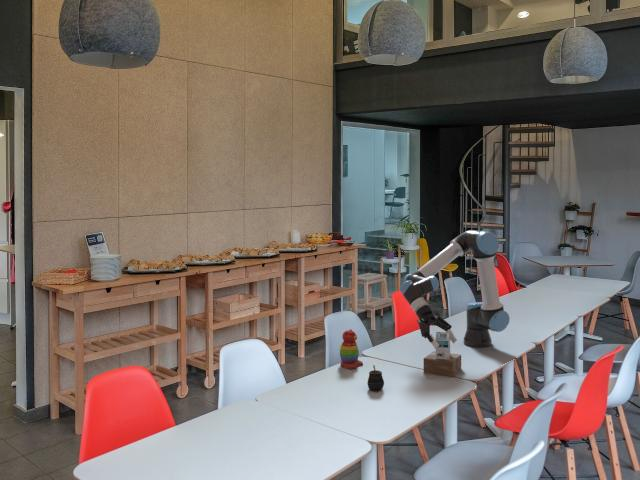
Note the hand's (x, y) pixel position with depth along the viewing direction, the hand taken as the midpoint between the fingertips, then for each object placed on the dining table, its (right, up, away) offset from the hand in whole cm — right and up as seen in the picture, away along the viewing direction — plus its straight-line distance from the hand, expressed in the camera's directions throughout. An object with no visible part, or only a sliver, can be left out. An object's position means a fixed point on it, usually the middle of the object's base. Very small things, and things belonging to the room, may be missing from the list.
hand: (446, 344), depth 288 cm
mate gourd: (-35, -16, -21) cm, 44 cm away
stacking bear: (-45, -13, +15) cm, 49 cm away
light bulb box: (-1, -6, +2) cm, 7 cm away
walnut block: (-1, -13, +3) cm, 14 cm away
